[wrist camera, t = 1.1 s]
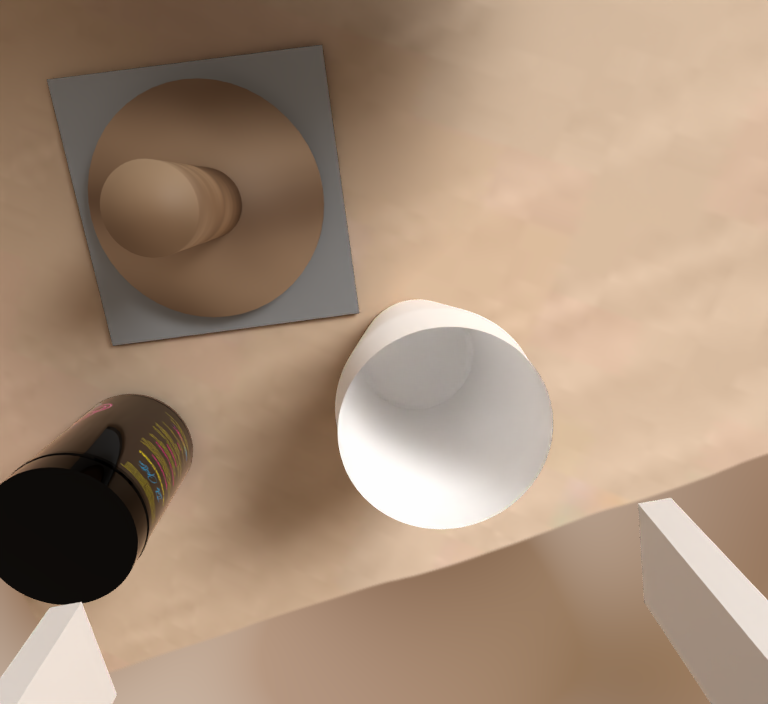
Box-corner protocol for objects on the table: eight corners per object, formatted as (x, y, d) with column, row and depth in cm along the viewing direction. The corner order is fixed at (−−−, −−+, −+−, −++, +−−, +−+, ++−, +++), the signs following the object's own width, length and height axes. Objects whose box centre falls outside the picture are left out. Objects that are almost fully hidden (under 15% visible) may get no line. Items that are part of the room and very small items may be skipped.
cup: (312, 386, 37) (294, 478, 25) (385, 249, 35) (401, 280, 23) (445, 450, 38) (485, 565, 26) (521, 322, 36) (600, 386, 25)
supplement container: (141, 366, 36) (58, 436, 26) (220, 450, 37) (171, 547, 27) (56, 435, 37) (-56, 529, 27) (137, 514, 38) (60, 631, 28)
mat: (50, 80, 32) (46, 79, 31) (322, 46, 32) (322, 44, 32) (115, 344, 35) (112, 345, 35) (359, 311, 36) (359, 313, 35)
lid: (71, 98, 32) (-62, 55, 21) (305, 68, 32) (282, 11, 22) (126, 326, 35) (32, 382, 25) (339, 297, 35) (332, 342, 25)
